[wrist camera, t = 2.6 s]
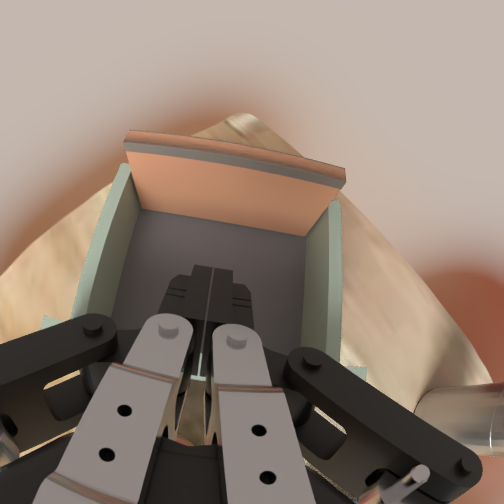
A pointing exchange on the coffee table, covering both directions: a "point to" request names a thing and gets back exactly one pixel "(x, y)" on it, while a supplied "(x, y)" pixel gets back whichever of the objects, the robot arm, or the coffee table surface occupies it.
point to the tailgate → (230, 181)
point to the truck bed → (213, 255)
